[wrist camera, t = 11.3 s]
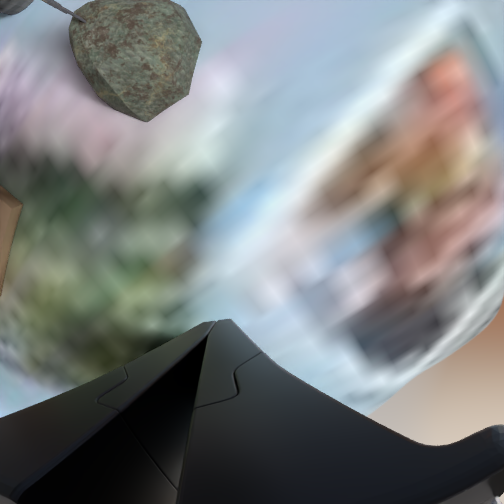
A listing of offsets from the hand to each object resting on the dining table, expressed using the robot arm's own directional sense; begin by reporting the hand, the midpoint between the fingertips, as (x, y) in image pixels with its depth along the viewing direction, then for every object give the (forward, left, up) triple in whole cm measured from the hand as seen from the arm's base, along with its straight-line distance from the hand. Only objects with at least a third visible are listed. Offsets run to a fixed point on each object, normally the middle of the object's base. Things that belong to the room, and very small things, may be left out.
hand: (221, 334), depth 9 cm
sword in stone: (+13, +4, -12) cm, 18 cm away
